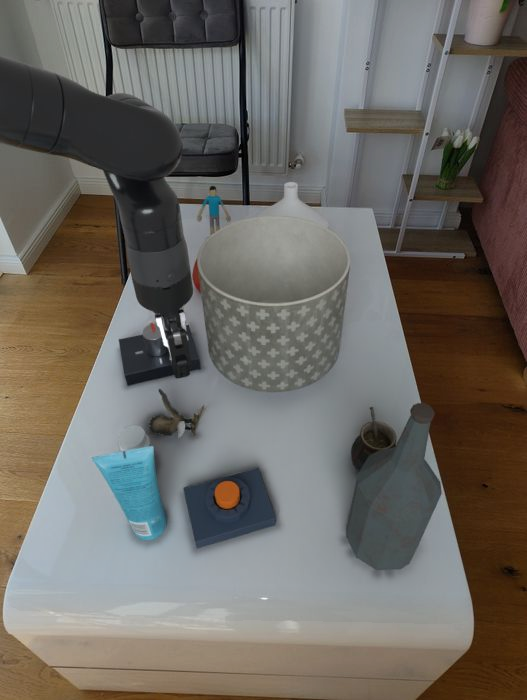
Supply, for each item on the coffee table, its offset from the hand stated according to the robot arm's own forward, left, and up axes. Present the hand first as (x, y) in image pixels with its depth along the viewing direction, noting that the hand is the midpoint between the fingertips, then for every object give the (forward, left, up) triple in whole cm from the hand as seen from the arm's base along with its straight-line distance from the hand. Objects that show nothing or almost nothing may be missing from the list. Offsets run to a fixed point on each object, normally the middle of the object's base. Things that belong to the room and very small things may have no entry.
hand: (176, 355), depth 77 cm
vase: (+33, +42, -18) cm, 56 cm away
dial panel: (-2, +18, -18) cm, 26 cm away
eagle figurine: (-2, +1, -18) cm, 18 cm away
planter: (+19, +12, -18) cm, 29 cm away
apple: (+14, +36, -18) cm, 43 cm away
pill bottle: (-9, -5, -18) cm, 21 cm away
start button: (+3, -17, -14) cm, 22 cm away
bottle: (+23, -28, -18) cm, 40 cm away
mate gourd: (+27, -16, -18) cm, 36 cm away
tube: (-9, -16, -18) cm, 26 cm away
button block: (+3, -17, -18) cm, 25 cm away
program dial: (-2, +18, -15) cm, 23 cm away
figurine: (+18, +55, -18) cm, 61 cm away
